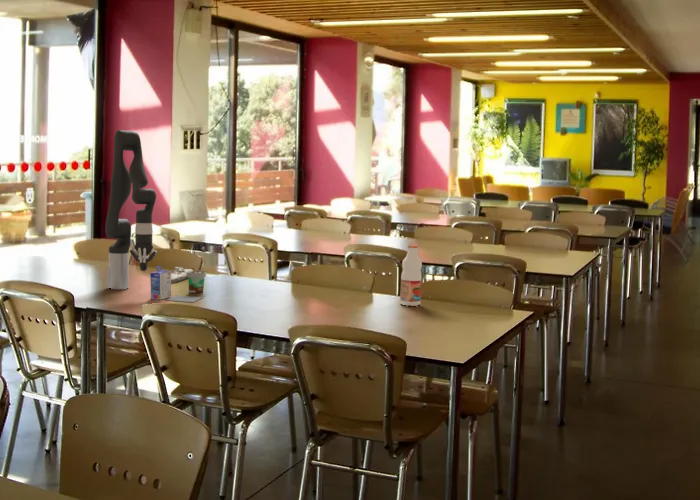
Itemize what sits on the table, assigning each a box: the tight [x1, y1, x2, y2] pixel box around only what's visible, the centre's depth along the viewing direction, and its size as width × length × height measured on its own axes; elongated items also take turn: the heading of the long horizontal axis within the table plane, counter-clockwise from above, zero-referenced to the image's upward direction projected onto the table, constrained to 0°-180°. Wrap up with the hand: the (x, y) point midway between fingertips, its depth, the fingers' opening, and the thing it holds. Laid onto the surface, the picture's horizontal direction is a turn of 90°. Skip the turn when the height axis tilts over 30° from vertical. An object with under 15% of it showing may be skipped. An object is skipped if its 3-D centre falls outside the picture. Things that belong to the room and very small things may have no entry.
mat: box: [165, 295, 204, 303], centre depth 409 cm, size 13×13×1 cm
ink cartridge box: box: [149, 265, 172, 301], centre depth 409 cm, size 10×6×14 cm, turn 161°
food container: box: [187, 269, 207, 295], centre depth 427 cm, size 12×6×10 cm, turn 168°
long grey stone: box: [171, 266, 195, 285], centre depth 468 cm, size 35×5×10 cm
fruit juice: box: [399, 243, 423, 305], centre depth 415 cm, size 9×9×28 cm
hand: (143, 270), depth 410 cm, fingers closed
